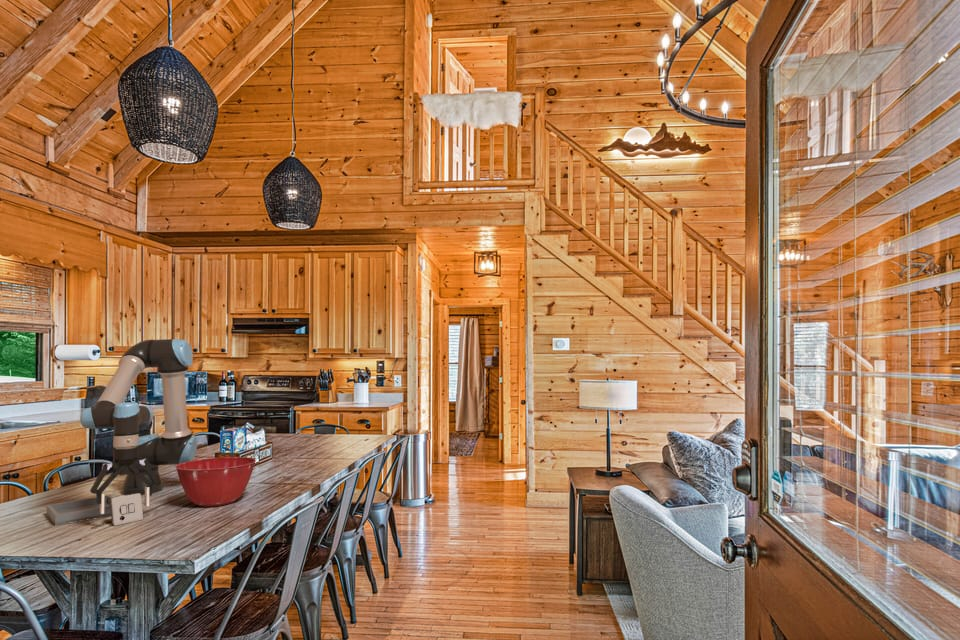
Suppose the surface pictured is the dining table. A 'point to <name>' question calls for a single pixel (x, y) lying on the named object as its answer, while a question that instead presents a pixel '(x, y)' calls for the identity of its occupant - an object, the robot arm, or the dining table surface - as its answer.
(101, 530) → the dining table surface
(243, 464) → the mixing bowl
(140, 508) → the electrical switch
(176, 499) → the dining table surface
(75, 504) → the parts tray
